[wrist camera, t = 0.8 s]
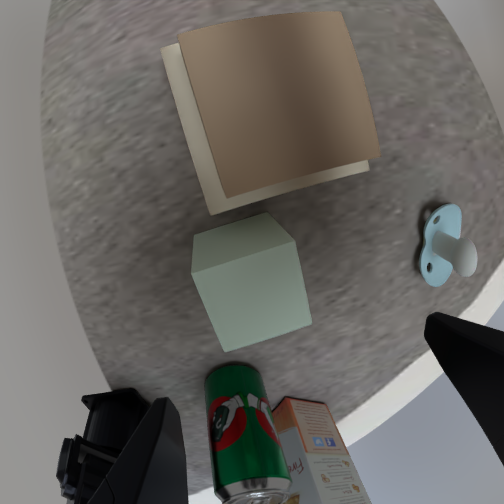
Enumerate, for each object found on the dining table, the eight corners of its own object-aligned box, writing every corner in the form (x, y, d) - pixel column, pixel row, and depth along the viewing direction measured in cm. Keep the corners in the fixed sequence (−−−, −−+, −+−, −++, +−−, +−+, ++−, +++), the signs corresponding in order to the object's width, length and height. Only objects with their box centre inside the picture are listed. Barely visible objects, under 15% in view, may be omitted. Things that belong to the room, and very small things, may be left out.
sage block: (217, 298, 21) (224, 352, 15) (193, 234, 19) (191, 273, 13) (284, 277, 21) (312, 323, 15) (267, 211, 19) (294, 240, 13)
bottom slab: (208, 205, 19) (210, 215, 16) (166, 62, 15) (160, 48, 12) (347, 165, 19) (369, 170, 16) (312, 34, 15) (329, 19, 12)
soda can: (200, 396, 24) (210, 514, 13) (209, 357, 22) (224, 492, 11) (253, 400, 25) (281, 510, 14) (268, 363, 23) (309, 485, 12)
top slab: (222, 188, 15) (226, 198, 13) (181, 53, 12) (177, 34, 9) (353, 153, 16) (381, 156, 13) (318, 29, 13) (340, 11, 10)
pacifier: (458, 196, 21) (417, 198, 20) (509, 214, 16) (474, 219, 15) (448, 268, 24) (408, 279, 23) (491, 295, 18) (453, 313, 17)
